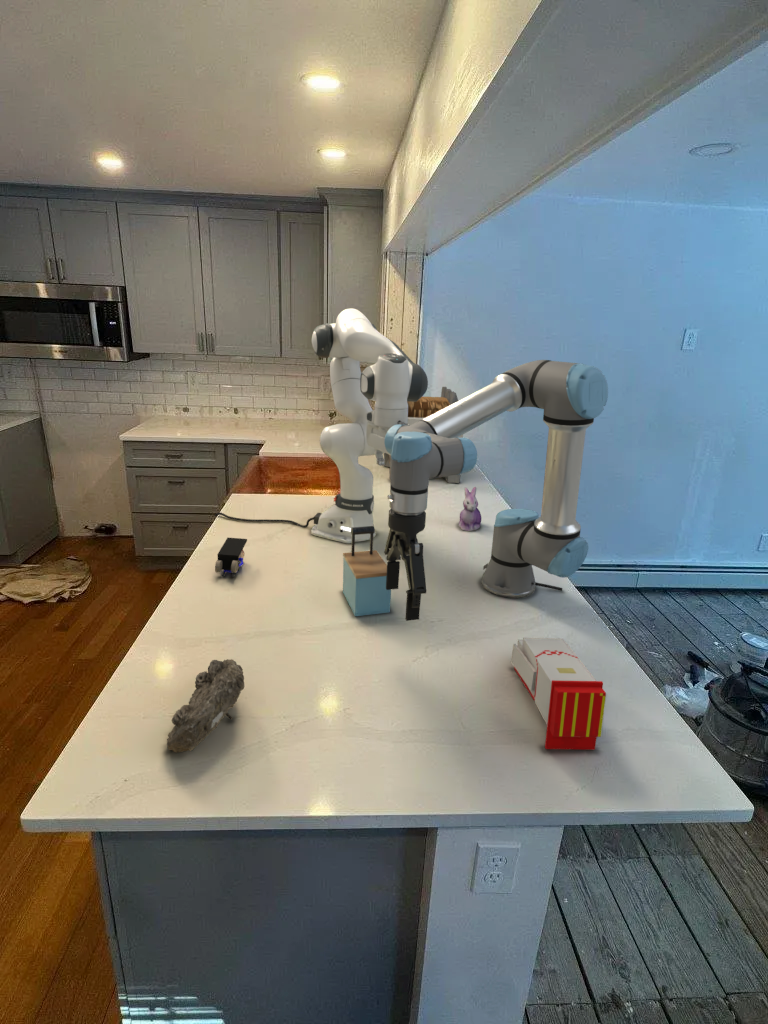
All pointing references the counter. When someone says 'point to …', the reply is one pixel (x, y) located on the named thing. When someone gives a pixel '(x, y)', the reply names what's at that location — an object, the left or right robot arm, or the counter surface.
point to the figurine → (470, 512)
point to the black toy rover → (230, 556)
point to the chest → (365, 593)
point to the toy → (561, 692)
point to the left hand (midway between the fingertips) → (388, 469)
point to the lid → (365, 557)
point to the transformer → (423, 410)
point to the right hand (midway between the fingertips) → (401, 603)
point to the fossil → (206, 705)
